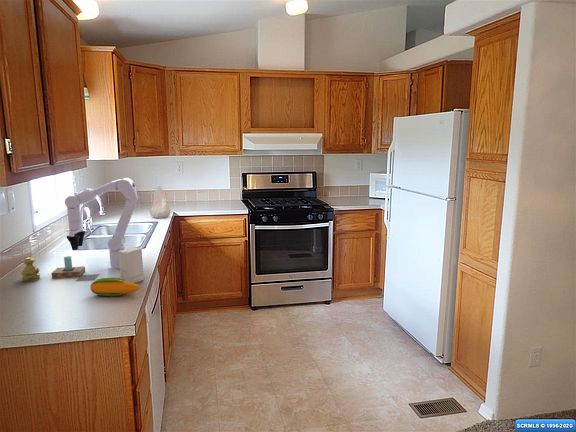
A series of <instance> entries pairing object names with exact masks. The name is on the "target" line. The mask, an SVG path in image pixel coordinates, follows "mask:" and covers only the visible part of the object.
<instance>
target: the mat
mask: <svg viewBox="0 0 576 432" xmlns="http://www.w3.org/2000/svg"><path fill="white" fill-rule="evenodd" d="M99 276H100V273H94V274H93V273H92V274H83V275H82V276H81V277H77V279H76V280H75V282H87V281H88V282H89V281H91V282H92V281H96V280H97V278H98V277H99Z"/></svg>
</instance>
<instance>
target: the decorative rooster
mask: <svg viewBox="0 0 576 432" xmlns="http://www.w3.org/2000/svg"><path fill="white" fill-rule="evenodd" d="M170 214H171V207H170V205H168V203H167V196H166V192H165V191H164V190H163V188H162V186H161V185H158V186H157V187H156V189H155V190H154V191H153V200H152V204H151V207H150V208H149V215H150V216H151V217H153V218H154V219H155V218H156V219H166V218H168V217H169V216H170ZM165 217H166V218H165Z"/></svg>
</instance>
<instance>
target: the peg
mask: <svg viewBox="0 0 576 432" xmlns="http://www.w3.org/2000/svg"><path fill="white" fill-rule="evenodd" d="M63 262H64V267H65V271H73V269H72V267H73V262H72V256H70V255H68V256H64V257H63Z"/></svg>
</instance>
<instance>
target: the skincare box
mask: <svg viewBox="0 0 576 432" xmlns="http://www.w3.org/2000/svg"><path fill="white" fill-rule="evenodd" d="M142 250H143V249H142V248H140V247H136V246H132V247H128V248H126V249H124V250H121V251H118V254H119V265H120V268H119V274H120V278H122V279H125V280H120V281H126V282H131V283H135V284H137V283H139V282H142V281H144V280H145V278H144V277H145V274H144V265H143V264H144V263H143V262H144V261H143V251H142Z"/></svg>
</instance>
